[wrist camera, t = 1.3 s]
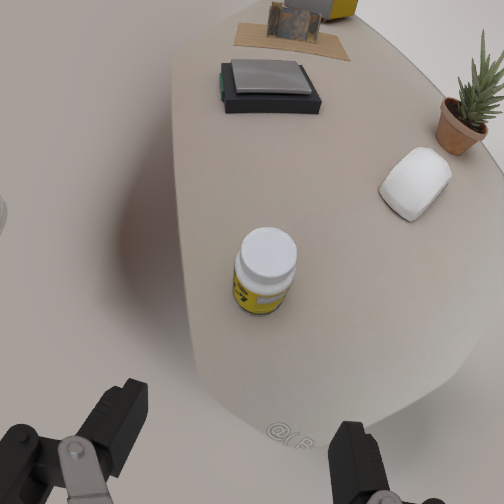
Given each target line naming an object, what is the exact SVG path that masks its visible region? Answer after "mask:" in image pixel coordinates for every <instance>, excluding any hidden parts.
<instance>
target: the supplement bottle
mask: <svg viewBox="0 0 504 504" xmlns="http://www.w3.org/2000/svg"><path fill="white" fill-rule="evenodd" d="M296 260H297V248H296V245H295V243H294V241H293V240H292V238H291V237H290V236H289V235H288V234H286V233H285V232H283V231H282V230H280V229H277V228H273V227H262V228H258V229H255V230H253V231H252V232H250V233H249V234H248V235H247V236H246V237H245V239H244V240H243V242H242V245H241V249H240V250H239V251H238V253H237V256H236V259H235V265H234V282H233V295H234V299H235V301H236V303H237V304H238V306H239V307H240V308H241V309H242V310H243V311H245V312H246V313H248V314H251V315H255V316H264V315H268V314H270V313H272V312H274V311H275V310H276V309H277V308H278V307H279V306H280V304H281V303H282V301H283V299H284V297H285V295H286V293H287V291H288V289H289V287H290V285H291V283H292V281H293V279H294V276H295V272H296V264H295V263H296Z"/></svg>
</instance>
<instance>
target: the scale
mask: <svg viewBox="0 0 504 504" xmlns="http://www.w3.org/2000/svg"><path fill="white" fill-rule="evenodd" d="M298 66H299V67H300V69H301V71H302V73H303V75H304V77H305V79H306V80H307V82H308V84H309V86H310V88H311V90H312V92H311V95H308V94H289V93H236V89H235V83H234V77H233V72H232V66H231V63H222V64H221V73H220V89H221V99H222V100H224V104H225V113H258V112H268V113H307V114H318V113H319V109H320V106H321V102H322V101H321V99H320V97H319V95H318V94H317V92H316V90H315V88H314V86H313V84H312V82H311V80H310V79H309V77H308V75H307V73H306V71H305V70H304V68H303V66H302V65H298Z"/></svg>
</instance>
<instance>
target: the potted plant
mask: <svg viewBox="0 0 504 504" xmlns="http://www.w3.org/2000/svg"><path fill="white" fill-rule="evenodd" d="M489 56H490V54H489ZM489 56H488V58H487V60H486V62H485V41H484V30H483V32H482V39H481V68H480V69H481V70H480V75H479V76H480V77H479V76H477V72H476V66H475V65H474V61H473V58H472V83H473V85H472V87H471V85H470V84H469V82H468V88H467V86H466V85H465V89H464V88H463V86H462V84H461V81H460V79H459V77H458V81H459V85H460V89H461V91H462V93H461V91H460V90H459V94H460V98H461V101H459V100H457V99H454V98H450V97H447V98H445V99H444V100H443V102H442V104H441V106H440V108H441V116H440V121H439V125H438V130H437V134H436V137H437V140H438V142H439V143H440V144H441V145H442V146H443V148H444V149H445V150H447V151H448V152H450V153H451V154H454V155H459V154H461V153H463V152H464V151H466V150H467V149H468V148H470V147H471V146H472V145H474V144H475V143H476V142H478V141H480V140H483V139H484V138H485V137H486V135H487V133H488V129H487V126H486V124H485V123H487V122H488V121H485V120H482V119H491V118H496V116H487V115H483V114H499V113H503V112H496V111H489V110H491V109H494V108H495V107H498V106H500V104H498V105H493V106H488V105H490V104H492V103H495V102H498V101H501V100H503V99H504V96H499V97H494V96H493V95H494V94H495V93H497V92H498V91H500V90H501V89H502V88H504V84H502V85H499V86H497V87H495V86H496V84H497V83H498V81H499V80H500V78H501V77H502V76H503V75H504V68H503V69H502V70H501V71H500V72H498V73H497V74H496V75H495V73H496V71H497V69H498V67H499V65H500V63H501V62H502V60H503V58H504V51H503V52H502V54H501V56H500V57H499V59H498V61H497V62H496V64H495V62H493V64H492V65H491V67H490V69H489V70H488V67H489V60H490V57H489ZM494 65H495V66H494ZM462 94H463V96H462ZM463 97H464V98H463Z"/></svg>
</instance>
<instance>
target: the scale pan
mask: <svg viewBox="0 0 504 504" xmlns="http://www.w3.org/2000/svg"><path fill="white" fill-rule="evenodd" d="M231 66H232V72H233V77H234V83H235V89H236V93H289V94H308V95H311V92H312V90H311V88H310V86H309V84H308V82H307V80H306V79H305V77H304V75H303V73H302V71H301V69H300V67H299V66H298V64H297V62H296V61H282V60H253V59H232V60H231Z"/></svg>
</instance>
